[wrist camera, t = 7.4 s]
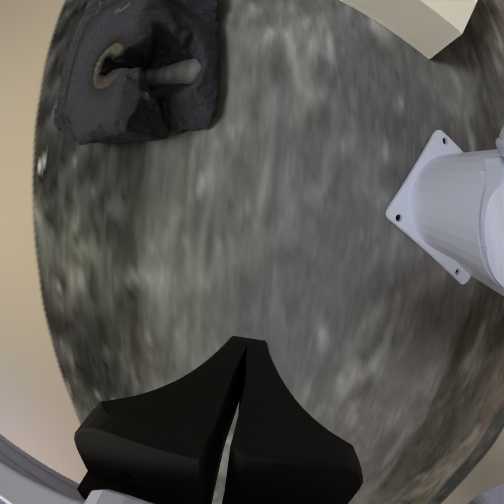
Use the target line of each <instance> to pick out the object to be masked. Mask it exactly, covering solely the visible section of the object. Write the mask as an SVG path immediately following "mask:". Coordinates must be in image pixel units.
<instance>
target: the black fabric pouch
mask: <svg viewBox="0 0 504 504" xmlns="http://www.w3.org/2000/svg"><path fill="white" fill-rule="evenodd" d="M218 5H219V4H218V1H217V0H89V2H88V4H87V7H86V10H85V13H84V15H83V17H82V19H81V21H80V22H79V25H78V27H77V30H76V33H75V36H74V40H73V42H72V43H71V45H70V47H69V53H68V56H67V59H66V62H65V65H64V69H63V75H62V78H61V83H60V86H59V94H58V97H57V100H58V102H57V105H56V108H55V117H54V125H55V126H56V128H57V130H61V129H62V130H63V131H64V132H65V136H66V142H68V143H71V142H74V141H77V140H78V144H79V145H84V144H87V143H96V142H99V143H126V142H134V141H151V140H155V139H156V138H157V137H158V136H162V137H164V138H165V137H167V134H168V131H169V130H171V131H173V132H175V133H183V132H184V130H196V129H198V128H201V129H206V128H207V127H208V125H209V123H210V121H211V120H212V119H213V117H214V116H215V114H216V105H215V98H216V96H217V91H218V82H217V78H216V76H217V60H218V52H217V51H218V36H217V33H218V23H217V22H216V20H217V18H218V16H217V13H216V10H217V7H218ZM191 58H196V59H197V60H198V61H199V63H200V64H201V70H200V72H199V73H198V75H197V77H196V79H195V80H194V81H193V83H191V84H188V85H186V84H176V85H168V86H162V85H158V86H156V87H154V88H153V89H152V90H150V89H149V82H148V81H147V80H146V78H145V74H144V73H143V69H144V68H146V67H150V66H152V67H154V68H158V67H162V66H166V65H170V64H173V63H176V62H179V61H182V60H186V59H191ZM169 122H170V126H169ZM165 125H167V127H166V126H165Z"/></svg>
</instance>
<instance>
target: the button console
mask: <svg viewBox="0 0 504 504" xmlns="http://www.w3.org/2000/svg"><path fill="white" fill-rule="evenodd" d="M340 1H342V2H344V3H345V4H347V5H349V6H351V7H353V8H354V9H356V10H358V11H360V12H361V13H363V14H365V15H367V16H368V17H370V18H371V19H373V20H375V21H376V22H378V23H379V24H381V25H383V26H384V27H386V28H387V29H389V30H390V31H392V32H393V33H394V34H396V35H397V36H399V37H400V38H402V39H403V40H404V41H406V42H407V43H408V44H410V45H411V46H412V47H414V48H415V49H416V50H418V51H419V52H420V53H422V54H423V55H424V56H425V57H427V58H428V59H431V58H432V57H433V56H435V55H436V54H437V53H438V52H440V51H441V50H442V49H443V48H445V47H446V46H447V45H448V44H450V43H451V42H452V41H454V40H455V39H456V38H457V37H459V36H460V35H461V34H462V33H463V31H464V29H465V27H466V25H467V23H468V21H469V19H470V16H471V14H472V12H473V10H474V8H475V5H476V3H477V1H478V0H340Z"/></svg>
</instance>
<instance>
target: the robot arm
mask: <svg viewBox="0 0 504 504" xmlns="http://www.w3.org/2000/svg"><path fill="white" fill-rule="evenodd" d="M443 139H445V142H446V143H445V144H444V143H443V141H442V140H443ZM496 147H497V149H496V150H485V151H474V152H465V153H464V152H463V151H462V150H461V149H460V148H459V147H458V146H457V145H456V144H455V143H454V142H453V141H452V140H451V139H450V138H449V137H448V136H447V135H446V134H445V133H444V132H443V131H441V130H437V131H435V132H434V133H433V135H432V136H431V138H430V140H429V142H428V143H427V145H426V147H425V149H424V150H423V152H422V154H421V155H420V157H419V159H418V160H417V162H416V164H415V165H414V167H413V169H412V170H411V172H410V174H409V175H408V177H407V178H406V180H405V182H404V183H403V185H402V186H401V188H400V189H399V191H398V193H397V194H396V196H395V197H394V199H393V200H392V202H391V203H390V205H389V206H388V208H387V210H386V217H387V218H388V219H389V220H390V221H391V222H393V223H394V224H395V225H396V226H397V227H399V228H400V229H401V230H402V231H403V232H404V233H406V234H407V235H408V236H409V237H410V238H411V239H413V240H414V241H415V242H416V243H417V244H418V245H419V246H421V247H422V248H423V249H424V250H425V251H426V252H427V253H428V254H430V255H431V256H432V257H433V258H434V259H435V260H436V261H437V262H438V263H439V264H440V265H441V266H443V267H444V268H445V269H446V270H447V271H448V272H449V273H450V274H451V275H452V276H453V277H454V278H455V279H456V280H457V281H458V282H459V283H461V284H466V283H467V281H468V280H469V278H470V277H471V276H472V277H474V278H476V279H477V280H479V281H480V282H482V283H484V284H485V285H487V286H488V287H490V288H492V289H493V290H495V291H496V292H498V293H499V294H501V295H502V296H504V126H503V128H502V130H501V133H500V137H498V138H497V139H496ZM398 214H399V215H400V220H399V221H396V215H398ZM457 269H458V272H457V273H456V274H455V272H456V270H457ZM238 403H239V413H238V419H237V423H236V427H235V431H234V435H233V439H232V442H231V446H230V454H229V461H228V469H227V477H226V484H225V492H224V496H223V501H222V504H348V503H349V502H350V500H351V499H352V498H353V497H354V495H355V494H356V493H357V492H358V490H359V489H360V487H361V485H362V483H363V475H362V470H361V466H360V463H359V460H358V457H357V455H356V452H355V450H354V448H353V446H352V445H351V444H349V443H347V442H346V441H344V440H343V439H341V438H339V437H338V436H336V435H334V434H333V433H331V432H330V431H328V430H327V429H326V428H325V427H323V426H322V425H321V424H319V423H318V422H317V421H316V420H315V419H313V418H312V417H311V416H310V415H309V414H308V413H307V412H306V411H305V410H304V409H303V408H302V407H301V406H300V404H299V403H298V402H297V401H296V400H295V398H294V397H293V396H292V394H291V393H290V392H289V390H288V389H287V387H286V386H285V384H284V382H283V381H282V379H281V377H280V375H279V374H278V372H277V370H276V368H275V365H274V363H273V361H272V359H271V356H270V353H269V350H268V346H267V343H266V341H264V340H257V339H250V338H244V337H237V336H232V337H231V338H230V339H229V340H228V341H227V342H226V343H225V344H224V345H223V346H222V347H221V348H220V349H219V350H218V351H217V352H216V353H215V354H214V355H213V356H211V357H210V358H209V359H208V360H207V361H206V362H204V363H203V364H202V365H200V366H199V367H197V368H196V369H195V370H193V371H192V372H190V373H189V374H187V375H185V376H184V377H182V378H180V379H178V380H177V381H175V382H172V383H170V384H168V385H165V386H163V387H161V388H158V389H156V390H153V391H150V392H147V393H143V394H140V395H136V396H132V397H128V398H122V399H116V400H109V401H101V402H100V403H99V404H98V405H97V406H96V407H95V408H94V409H93V410H92V412H91V413H90V414H89V415H88V416H87V418H86V419H85V420H84V422H83V423H82V424H81V426H80V427H79V428H78V430H77V431H76V432H75V436H74V440H75V444H76V447H77V449H78V452H79V454H80V456H81V458H82V460H83V462H84V464H85V466H86V468H87V470H88V472H87V473H86V475H85V477H84V478H83V480H82V482H81V483H80V484H78V483H76V482H74V481H72V480H70V479H69V478H67V477H65V476H63V475H61V474H59V473H58V472H56V471H54V470H52V469H51V468H49V467H47V466H46V465H44V464H43V463H41V462H39V461H38V460H36V459H35V458H33V457H31V456H30V455H28V454H27V453H25V452H24V451H23V450H21V449H20V448H18V447H17V446H15V445H14V444H13V443H11V442H10V441H9V440H7V439H6V438H5V437H3V436H2V435H1V434H0V504H212V500H213V495H214V490H215V486H216V481H217V476H218V472H219V467H220V462H221V458H222V453H223V449H224V446H225V442H226V439H227V436H228V433H229V430H230V427H231V424H232V421H233V418H234V415H235V412H236V409H237V406H238ZM468 504H504V485H499V486H497V487H495V488H493V489H490V490H488V491H486V492H483V493H481V494H480V495H478V496H477V497H475V498H474V499H473V500H472V501H470V502H469V503H468Z"/></svg>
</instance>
